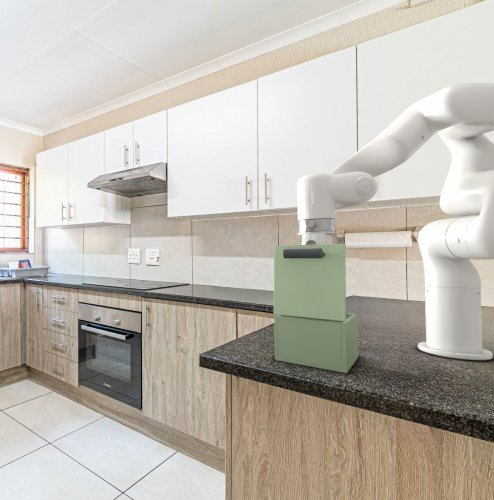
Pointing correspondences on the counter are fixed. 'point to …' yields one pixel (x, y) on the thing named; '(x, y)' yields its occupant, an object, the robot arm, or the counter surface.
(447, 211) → the robot arm
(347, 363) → the chest
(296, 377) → the counter surface
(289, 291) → the lid
